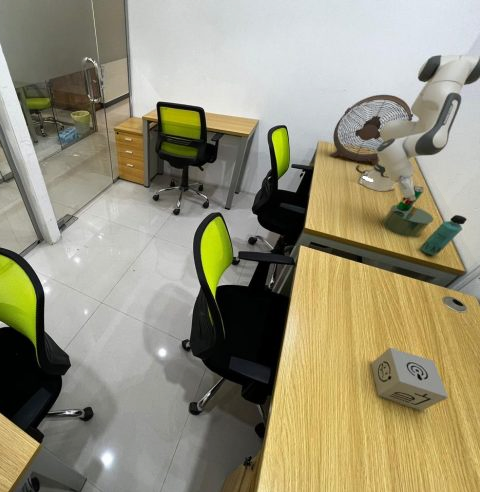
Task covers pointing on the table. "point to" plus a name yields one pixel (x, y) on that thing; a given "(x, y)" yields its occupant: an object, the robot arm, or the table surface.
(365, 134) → the fan
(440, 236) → the beverage bottle
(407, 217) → the lid
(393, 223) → the pot
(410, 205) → the soda can
